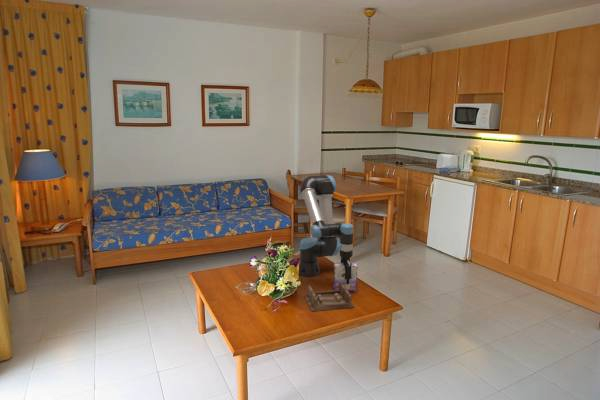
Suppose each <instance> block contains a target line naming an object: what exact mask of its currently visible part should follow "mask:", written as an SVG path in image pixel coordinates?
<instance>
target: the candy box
mask: <svg viewBox="0 0 600 400" xmlns="http://www.w3.org/2000/svg"><path fill="white" fill-rule="evenodd" d="M351 263H352V265H351V279H350V289H347V290H348V292H355V293H357V292H358V262H351ZM345 266H347V265H345ZM345 278H346V275H345V267H344V263H342V262H341V261H340V262H339V261H337V262H336V261H334V263H333V290H339V283H343V285H344V286H345Z"/></svg>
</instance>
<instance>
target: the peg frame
mask: <svg viewBox="0 0 600 400" xmlns="http://www.w3.org/2000/svg"><path fill="white" fill-rule="evenodd" d="M304 298H305V301H306V303H307V304H308V307H309V309H310V311H311V312H321V311H331V310H342V309H353V308H354V309H355V304H354V303H353V302H352V294H351V293H350V291H348V290H347V289H346V288H345V286H344V285H343V283H339V290H334V289H333V290H321V291H320V290H319V291H314V290H313V287H312V286H311V284H308V285H307V294H304Z"/></svg>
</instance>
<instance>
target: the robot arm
mask: <svg viewBox="0 0 600 400" xmlns="http://www.w3.org/2000/svg"><path fill="white" fill-rule="evenodd" d="M336 183H337V182H336V180H335V178H334V177H333V175H329V174H324V175H323V174H322V175H308V176H307V177H305V178H304V179H303V180H302V182H301V184H300V188H299V192H300V196H301V198H303V201H304V203H305V207H306V209H307V212H308V215H309V219H310V222H311V226H310V229H309V230H310V235H311V236H309V237H304V238H302V239H301V240H300V243H299V262H300V263H298V265H299V274H300V275H299V274H298V275H299V276H301V277H307V278H309V277H316V276H318V275H320V273H321V269H320V265H319V262H318V258H322V257H324V258H325V257H332V256H337V255H338V254H339V257H340V262H342V263H344V267H345V275H346V278H345V288H346V289H350V279H351V265H352V263H353V262H351V259H350V258H352V257H353V253H354V252H353V251H354V250H353V249H354V231H355V230H354V225H353V224H351V223H348V222H345V223H343V222H341V221H335V222H334V219H333V218H334V216H333V214H334V213H333V201H332V200H333V199H332V197H333V196H334V193H336V191H337V184H336ZM317 198H318V199H317ZM338 237H339V238H338ZM345 265H347V266H345Z"/></svg>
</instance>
